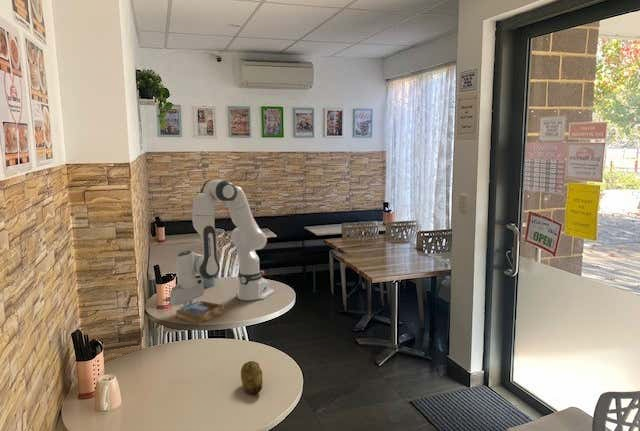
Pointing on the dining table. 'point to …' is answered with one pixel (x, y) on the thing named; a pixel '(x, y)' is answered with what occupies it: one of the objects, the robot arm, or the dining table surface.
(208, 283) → the grey-blue cup
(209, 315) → the corral
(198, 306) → the t block
